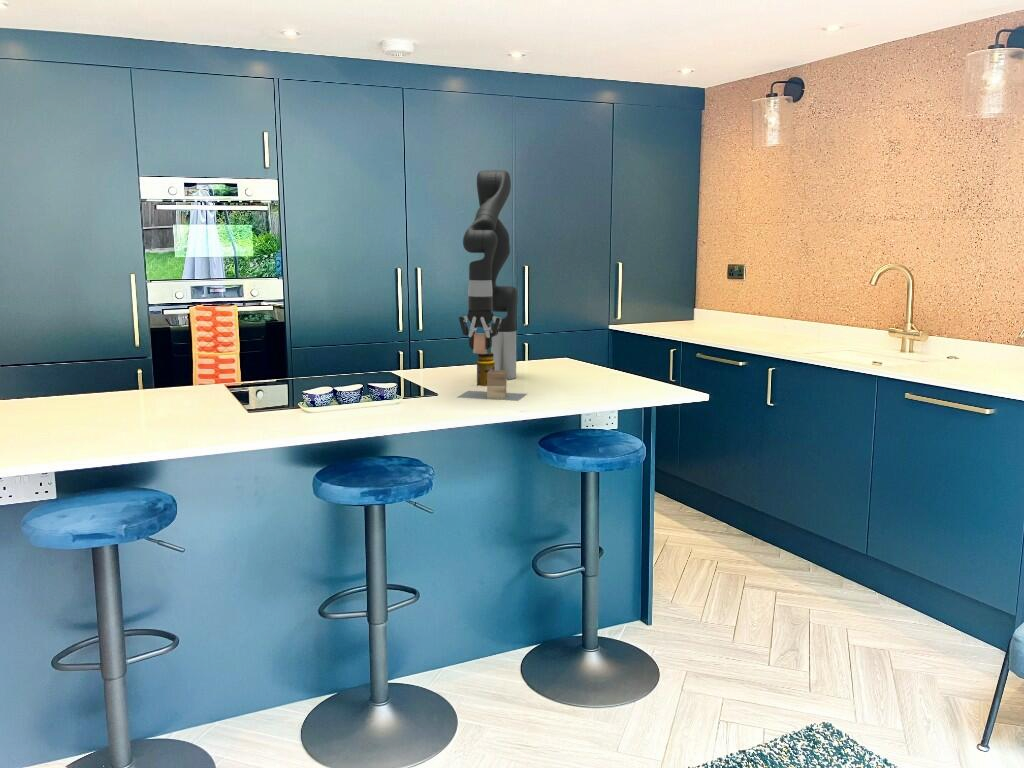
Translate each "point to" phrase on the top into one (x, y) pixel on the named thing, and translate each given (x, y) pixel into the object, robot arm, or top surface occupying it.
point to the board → (484, 396)
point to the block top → (496, 378)
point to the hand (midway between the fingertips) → (480, 349)
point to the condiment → (484, 368)
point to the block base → (496, 392)
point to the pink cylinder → (479, 343)
